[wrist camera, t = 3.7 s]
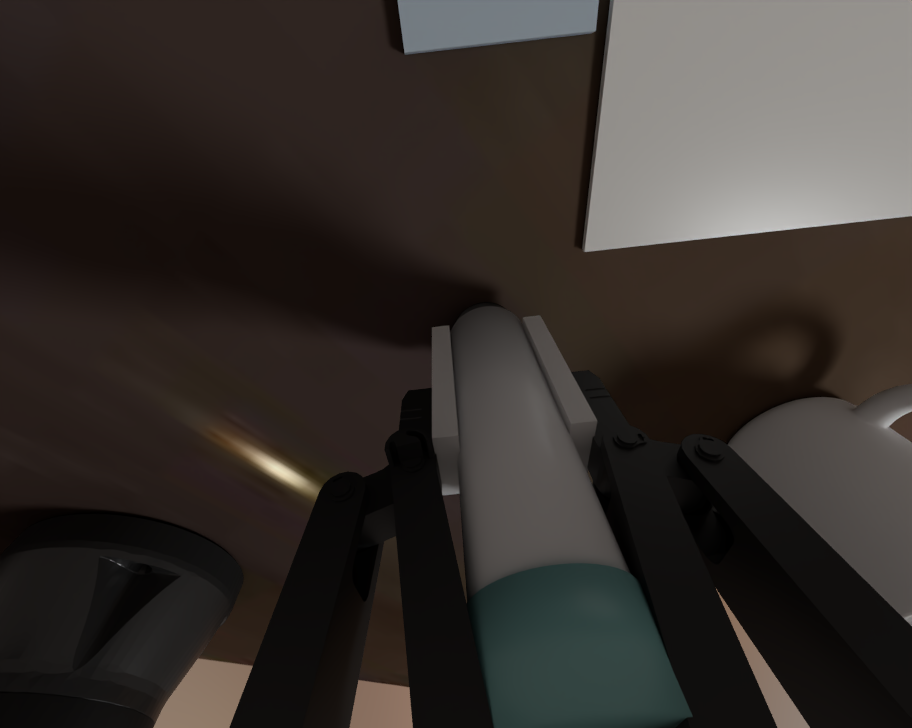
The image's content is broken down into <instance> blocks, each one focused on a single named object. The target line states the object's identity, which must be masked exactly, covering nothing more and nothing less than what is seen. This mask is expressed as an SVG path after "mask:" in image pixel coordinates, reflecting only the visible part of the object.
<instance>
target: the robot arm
mask: <svg viewBox="0 0 912 728" xmlns="http://www.w3.org/2000/svg"><path fill="white" fill-rule="evenodd" d="M523 328H524V330H525V333H526V335H527V337H528V339H529V342H530V344H531V346H532V349H533V351H534V353H535V356H536V358H537V360H538V363H539V365H540V367H541V370H542V372H543V374H544V376H545V379H546V381H547V383H548V386H549V388H550V390H551V393H552V395H553V397H554V400H555V402H556V404H557V407H558V409H559V411H560V414H561V416H562V418H563V420H564V423H565V425H566V427H567V430H568V432H569V434H570V436H571V438H572V439H573V442H574V444H575V446H576V449H577V451H578V453H579V455H580V458H581V460H582V462H583V465H584V467H585V469H586V472H587V473H588V470H589V472H590V474H591V477H592V479H593V484H592V485H593V488H594V490H595V492H596V495H597V497H598V499H599V501H600V504H601V506H602V508H603V511H604V513H605V515H606V518H607V520H608V522H609V524H610V527H611V529H612V531H613V534H614V536H615V538H616V541H617V543H618V545H619V547H620V550H621V552H622V554H623V557H624V559H625V561H626V564H627V566H628V568H629V571H630V573H631V574H632V575H633V576H634V577H636V578H637V579H638V581H639V582H640V584H641V587H642V589H643V592H644V594H645V597H646V599H647V602H648V604H649V607H650V610H651V612H652V615H653V618H654V620H655V623H656V626H657V628H658V631H659V634H660V636H661V639H662V642H663V644H664V647H665V650H666V652H667V655H668V658H669V661H670V664H671V667H672V669H673V672H674V674H675V677H676V679H677V681H678V683H679V686H680V688H681V690H682V693H683V695H684V697H685V700H686V702H687V704H688V706H689V709H690V711H691V713H692V716H693V717H687V718H686V719H685V720H684V721H682V722H681V723H680V724H679V725H678V726H677V727H675V728H777V726H776V724H775V721H774V719H773V717H772V714H771V712H770V710H769V708H768V705H767V703H766V701H765V699H764V696H763V694H762V692H761V690H760V687H759V685H758V683H757V680H756V678H755V676H754V674H753V671H752V669H751V667H750V665H749V662H748V660H747V658H746V656H745V653H744V651H743V649H742V647H741V644H740V642H739V640H738V637H737V635H736V633H735V631H734V629H733V626H732V624H731V622H730V619H729V617H728V615H727V613H726V610H725V608H724V606H723V604H722V601H721V599H720V597H719V595H718V592H719V593H720V595H721V596H722V598H723V599H724V601H725V602H726V604H727V605H728V607H729V608H730V610H731V611H732V613H733V614H734V615H735V617H736V618H737V620H738V621H739V623H740V624H741V626H742V627H743V629H744V630H745V632H746V633H747V635H748V636H749V638H750V639H751V641H752V642H753V644H754V645H755V647H756V648H757V649H758V651H759V652H760V654H761V655H762V657H763V658H764V660H765V661H766V663H767V664H768V666H769V667H770V669H771V670H772V672H773V673H774V675H775V676H776V678H777V679H778V680H779V682H780V683H781V685H782V686H783V688H784V689H785V691H786V692H787V694H788V695H789V697H790V698H791V700H792V701H793V703H794V704H795V706H796V707H797V709H798V710H799V712H800V713H801V715H802V716H803V718H804V719H805V721H806V722H807V723H808V725H809V726H810V728H912V626H911V625H910V624H909V623H908V622H907V621H906V620H905V619H904V618H903V617H902V616H901V615H900V614H899V613H898V612H897V611H896V610H895V609H894V608H893V607H892V606H891V605H890V604H889V603H888V602H887V601H886V600H885V599H884V598H883V597H882V596H881V595H880V594H879V593H878V592H877V591H876V590H875V589H874V588H873V587H872V586H871V585H870V584H869V583H868V582H867V581H866V580H865V579H864V578H862V577H861V576H860V575H859V574H858V573H857V572H856V571H855V570H854V569H853V568H852V567H851V566H850V565H849V564H848V563H847V562H846V561H845V560H844V559H843V558H842V557H841V556H840V555H839V554H838V553H837V552H836V551H835V550H834V549H833V548H832V547H831V546H830V545H829V544H828V543H827V542H826V541H825V540H824V539H823V538H822V537H821V536H820V535H819V534H818V533H817V532H816V531H815V530H814V529H813V528H812V527H811V526H810V525H809V524H808V523H807V522H806V521H805V520H804V519H803V518H802V517H801V516H800V515H799V514H798V513H797V512H796V511H795V510H794V509H793V508H792V507H791V506H790V505H789V504H788V503H787V502H786V501H785V500H784V499H783V498H782V497H781V496H779V495H778V494H777V493H776V492H775V491H774V490H773V489H772V488H771V487H770V486H769V485H768V484H767V483H766V482H765V481H764V480H763V479H762V478H761V477H760V476H759V475H758V474H757V473H756V472H755V471H754V470H753V469H752V468H751V467H750V466H749V465H748V464H747V463H746V462H745V461H744V460H743V459H742V458H741V457H740V456H739V455H738V454H737V453H736V452H735V451H734V450H733V449H732V448H731V447H730V446H728V445H727V444H726V443H724V442H723V441H721V440H719V439H717V438H715V437H712V436H708V435H704V434H692V435H689V436H687V437H685V438H684V440H683V441H682V443H681V445H680V444H673V443H666V442H659V441H655V440H651V439H649V438H648V436H647V435H646V434H645V433H644V432H642V431H641V430H639V429H638V428H635V427H633V426H630V425H629V424H628V422H627V421H626V419H625V418H624V416H623V414H622V413H621V411H620V410H619V408H618V407H617V405H616V403H615V402H614V400H613V399H612V397H610V394H609V393H608V391H607V389H605V386H604V385H603V383H602V382H601V380H600V378H598V377H597V376H596V375H594V374H593V373H591V372H590V371H589V370H587V371H578V372H571V371H570V369H569V368H568V366H567V364H566V362H565V360H564V358H563V357H562V355H561V353H560V351H559V349H558V347H557V345H556V344H555V342H554V340H553V338H552V336H551V334H550V333H549V331H548V329H547V327H546V325H545V323H544V322H543V320H542V318H541V316H531V317H523ZM385 452H386V456H387V459H388V462H389V465H388V466H387V467H385V468H384V469H382V470H380V471H378V472H376V473H374V474H371V475H369V476H366V477H364V478H363V477H362V476H361V475H359V474H357V473H355V472H344V473H339V474H338V475H336V476H334V477H332V478H330V479H329V480H328V481H327V482H326V483H325V484H324V485H323V487H322V489H321V490H320V492H319V494H318V497H317V500H316V502H315V505H314V508H313V510H312V513H311V515H310V518H309V521H308V523H307V526H306V529H305V531H304V534H303V536H302V539H301V542H300V544H299V547H298V549H297V552H296V555H295V557H294V560H293V563H292V565H291V568H290V570H289V573H288V576H287V578H286V581H285V584H284V586H283V589H282V591H281V594H280V597H279V599H278V602H277V604H276V607H275V610H274V612H273V615H272V618H271V620H270V623H269V625H268V628H267V631H266V633H265V636H264V639H263V641H262V644H261V646H260V649H259V652H258V654H257V657H256V659H255V662H254V665H253V667H252V670H251V673H250V675H249V678H248V680H247V683H246V686H245V688H244V692H243V694H242V696H241V699H240V702H239V704H238V707H237V709H236V712H235V714H234V717H233V720H232V722H231V725H230V728H349V727H350V720H351V716H352V711H353V705H354V700H355V695H356V689H357V684H358V678H359V673H360V668H361V662H362V657H363V652H364V646H365V641H366V636H367V630H368V625H369V620H370V614H371V609H372V604H373V598H374V593H375V587H376V582H377V577H378V571H379V566H380V561H381V555H382V550H383V545H384V541H385V540H388V539H390V538H392V537H394V536H396V539H397V550H398V561H399V573H400V584H401V596H402V607H403V619H404V630H405V642H406V653H407V664H408V676H409V687H410V698H411V710H412V722H413V728H494V727H493V722H492V718H491V713H490V709H489V704H488V700H487V695H486V691H485V686H484V682H483V677H482V673H481V668H480V664H479V659H478V655H477V650H476V645H475V641H474V636H473V632H472V627H471V623H470V618H469V614H468V609H467V605H466V600H465V596H464V591H463V587H462V582H461V578H460V573H459V569H458V564H457V560H456V555H455V551H454V546H453V541H452V537H451V532H450V528H449V523H448V519H447V514H446V510H445V505H444V501H443V496H442V494H443V495H451V494H460V493H459V479H458V463H457V461H458V456H459V453H460V443H459V432H458V420H457V408H456V396H455V384H454V372H453V361H452V349H451V337H450V329H449V325H448V326H439V327H432V388H428V389H418V390H409V391H408V392H407V394H406V395H405V397H404V398H403V400H402V406H401V416H400V425H399V431H397V432H395V433H394V434H392V435H391V436H390V437H389V439H388V440H387V442H386V444H385ZM242 584H243V573H242V570H241V568H240V566H239V565H238V563H237V562H236V561H235V560H234V559H233V558H232V557H231V556H230V555H229V554H228V553H227V552H226V551H224V550H223V549H222V548H220V547H218V546H217V545H215V544H214V543H212V542H210V541H208V540H206V539H204V538H202V537H200V536H198V535H196V534H193V533H191V532H188V531H185V530H183V529H180V528H177V527H174V526H170V525H167V524H163V523H160V522H156V521H151V520H146V519H141V518H136V517H129V516H121V515H110V514H75V515H66V516H59V517H54V518H50V519H46V520H43V521H40V522H38V523H36V524H34V525H32V526H30V527H29V528H27V529H26V530H25V531H24V532H22V534H21V535H20V536H19V537H18V538H17V539H16V540H15V541H14V542H13V543H12V544H11V545H10V546H9V547H8V548H7V549H6V550H5V551H4V552H3V553H2V554H1V555H0V728H153V727H154V725H155V723H156V721H157V718H158V716H159V714H160V712H161V710H162V708H163V707H164V705H165V703H166V701H167V700H168V698H169V697H170V696H171V695H172V693H173V691H174V690H175V689H176V688H177V686H178V685H179V684H180V682H181V681H182V679H183V678H184V677H185V675H186V674H187V673H188V671H189V670H190V668H191V667H192V666H193V664H194V663H195V661H196V660H197V659H198V657H199V656H200V654H201V653H202V652H203V650H204V649H205V647H206V646H207V644H208V643H209V641H210V640H211V638H212V637H213V635H214V634H215V633H216V631H217V629H218V628H219V627H220V626H221V625H222V624H223V623H224V622H225V621H226V619H227V618H228V616H229V615H230V613H231V611H232V609H233V606H234V604H235V601H236V599H237V597H238V594H239V592H240V589H241V587H242ZM715 587H716V588H715ZM716 589H717V590H718V592H717V590H716Z"/></svg>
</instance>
